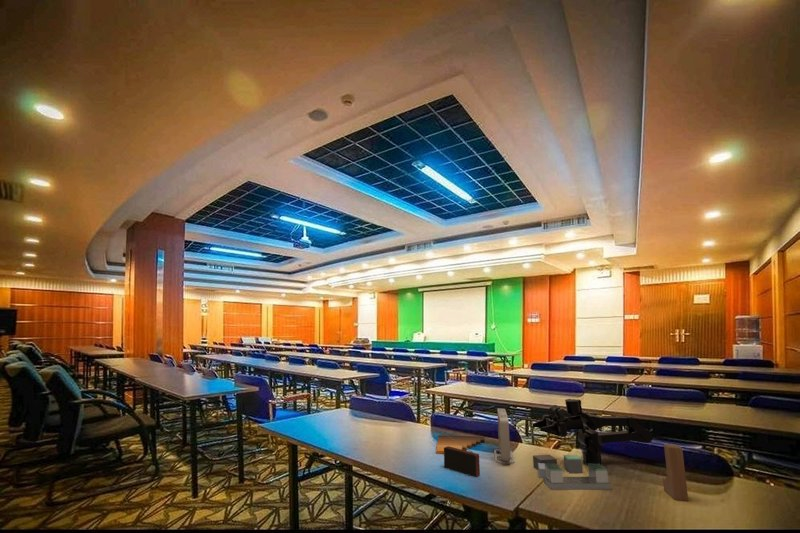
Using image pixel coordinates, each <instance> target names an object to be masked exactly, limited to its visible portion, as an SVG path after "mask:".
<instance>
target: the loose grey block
mask: <svg viewBox="0 0 800 533" xmlns="http://www.w3.org/2000/svg"><path fill="white" fill-rule="evenodd" d="M532 462H533V463H532V465H533V466H532V467H533V468H534V469H535V470H537V471H538V463H545V464H557V465H558V458H556V457H554V456H553V455H550V454H538V455H532Z"/></svg>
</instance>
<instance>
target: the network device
mask: <svg viewBox="0 0 800 533" xmlns="http://www.w3.org/2000/svg"><path fill="white" fill-rule="evenodd" d="M496 410H497V434H498V446H499V448H496V449H494V450H493V455H494V461H495V463H498V464H506V465H513V464H515V462H516V460H515V458H514V454H513V451H512V450H511V448H510V447H511V445H510V424H509V423H510V421H509V418H508V414H507V411H506V409H505V408H496ZM497 452H499V453H497ZM498 458H500V459H501V460H498Z"/></svg>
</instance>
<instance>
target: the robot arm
mask: <svg viewBox="0 0 800 533" xmlns="http://www.w3.org/2000/svg"><path fill="white" fill-rule="evenodd" d="M564 403H565V407H566V408H565V409H566V410H565V409H564V408H561V407H560V406H559V405H557V404H554V405H553V406H550V407H549V411H550V412H551V414H552V416H550V415H549V414H542V417H541V419H540V420H538V421H536V422H534V423H532V424H531V425H532V427H534V428H537V429H540V432H543V433H547V434H550V435H554V436H557V437H561V438H565V437H567V436H568V432H569V433H570V432H572V431H576V430H578V434H577V441H578V443H580V444H581V446H582V447H583V452H582V457H583V458H582V462H583V461H584V462H583V463H585V464H586V463H587V464H601V465H604V464H603V463H602V452H603V449H604V447H603V446H602V445H603V444H613V443H623V442H636V443H640V444H641V443H642V444H650V443H652V441H653V438H654V437H653V436H654V435H653V433H652V431H650V430H649V429H647V428H645V427H644V426H643V425H641V424H640V423H639V422H637V421H636V420H635V418H633V417H631V416H628V415H620V416H619V415H616V416H615V415H613V416H612V415H608V416H607V415H604V416H603V415H601V416H600V415H598V414H596V415H595V414H592V413H586V412H583V408H582V400H581V399H575V398H567V399H564ZM566 413H567V414H569V415H570V416H565V414H566ZM603 427H626V428H627V430H621V431H619V430H618V431H608V432H598V431H596V430H597V429H602V428H603ZM586 428H589V429H586ZM587 464H586V465H587Z"/></svg>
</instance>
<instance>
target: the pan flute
mask: <svg viewBox="0 0 800 533" xmlns="http://www.w3.org/2000/svg"><path fill="white" fill-rule="evenodd" d="M447 435H448V434H446V435H445V434H438V437H437V443H436V454H438V455H444V448H445V447H447V446H449V447H453V448H457V449H461V450H465V451H468V449H472V447H477V445H479V446H480V445H481V444H485V442H486V440H485V439H486V438H485V436H479V435H478V436H477V435H476V436H475V435H474V436H473V435H448V436H449V437H448V436H447ZM450 437H451V438H452V439H451V438H450ZM453 439H454V440H455V441H454V440H453ZM456 441H457V442H458V443H457V442H456ZM459 443H460V444H461V445H460V444H459ZM462 445H463V446H464V447H463V446H462ZM481 446H482V445H481ZM465 447H466V448H467V449H466V448H465Z"/></svg>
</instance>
